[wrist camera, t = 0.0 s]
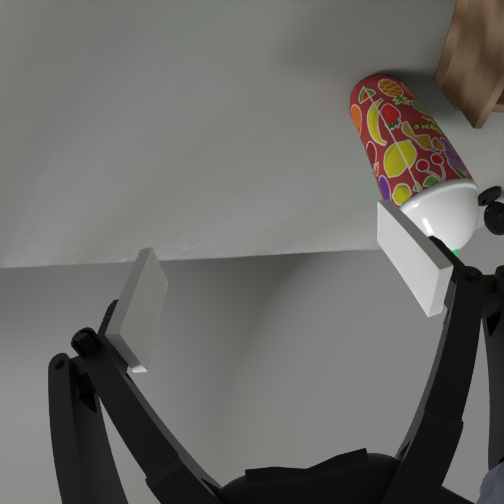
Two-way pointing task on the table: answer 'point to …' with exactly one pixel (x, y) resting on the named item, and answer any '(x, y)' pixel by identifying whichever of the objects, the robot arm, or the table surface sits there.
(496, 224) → the webcam
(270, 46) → the table surface
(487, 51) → the rack
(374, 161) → the smoothie
